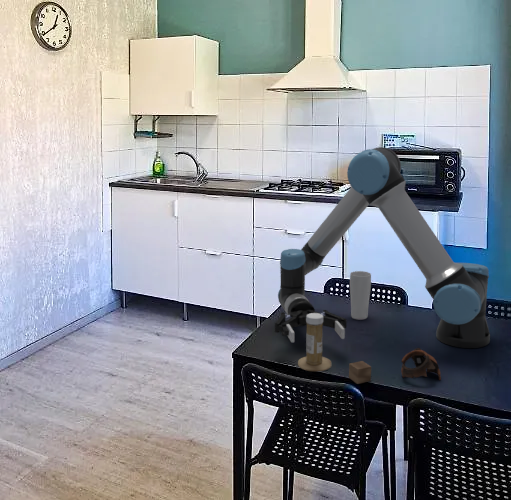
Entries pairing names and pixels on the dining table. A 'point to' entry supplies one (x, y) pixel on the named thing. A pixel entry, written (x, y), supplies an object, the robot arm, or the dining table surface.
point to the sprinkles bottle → (314, 338)
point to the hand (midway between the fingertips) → (318, 335)
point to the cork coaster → (321, 367)
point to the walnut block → (359, 372)
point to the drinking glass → (360, 294)
